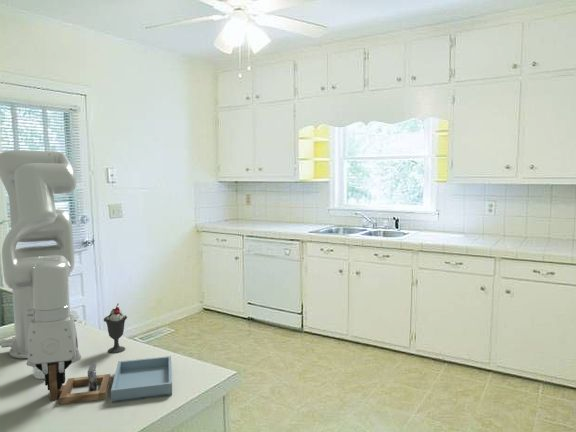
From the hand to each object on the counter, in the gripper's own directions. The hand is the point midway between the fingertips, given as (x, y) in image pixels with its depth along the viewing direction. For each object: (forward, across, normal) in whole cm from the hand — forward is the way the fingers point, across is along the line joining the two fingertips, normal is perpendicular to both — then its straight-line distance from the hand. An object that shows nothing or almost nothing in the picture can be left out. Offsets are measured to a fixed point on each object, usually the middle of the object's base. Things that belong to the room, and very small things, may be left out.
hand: (55, 386), depth 105 cm
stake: (+2, +8, 0) cm, 9 cm away
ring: (+2, +6, 0) cm, 6 cm away
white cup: (+2, -5, +13) cm, 14 cm away
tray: (+2, +20, +1) cm, 20 cm away
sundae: (+2, +11, +25) cm, 27 cm away
